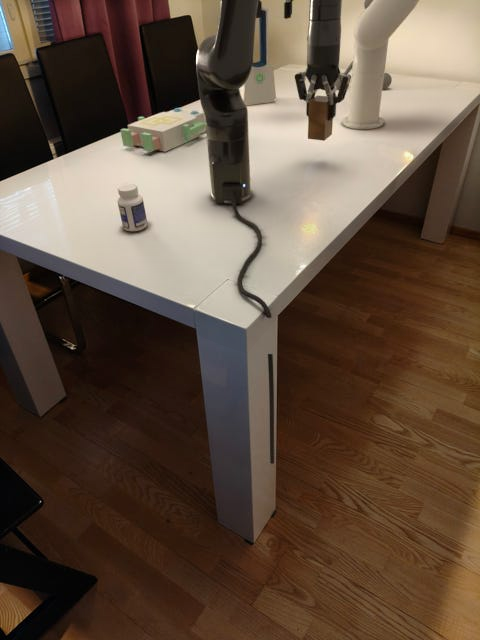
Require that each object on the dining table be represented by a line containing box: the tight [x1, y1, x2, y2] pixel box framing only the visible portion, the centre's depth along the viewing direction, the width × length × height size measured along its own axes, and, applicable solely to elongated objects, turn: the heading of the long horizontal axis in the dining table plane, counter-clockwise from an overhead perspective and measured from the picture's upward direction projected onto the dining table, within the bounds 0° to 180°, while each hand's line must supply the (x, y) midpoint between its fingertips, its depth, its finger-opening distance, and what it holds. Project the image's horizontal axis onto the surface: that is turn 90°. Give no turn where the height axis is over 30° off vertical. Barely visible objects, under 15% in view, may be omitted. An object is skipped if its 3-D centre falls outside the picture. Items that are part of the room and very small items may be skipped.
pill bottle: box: [117, 182, 148, 232], centre depth 102 cm, size 5×5×9 cm
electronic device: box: [239, 6, 277, 106], centre depth 173 cm, size 12×8×30 cm, turn 105°
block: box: [307, 95, 334, 142], centre depth 122 cm, size 4×5×9 cm
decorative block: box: [120, 107, 206, 153], centre depth 149 cm, size 26×6×20 cm
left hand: (320, 118), depth 122 cm, fingers closed on block, 4 cm apart
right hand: (272, 17), depth 143 cm, fingers open, 9 cm apart
